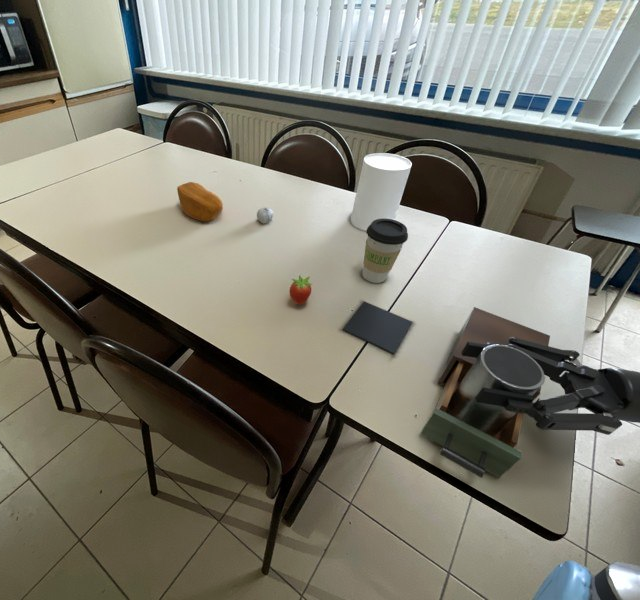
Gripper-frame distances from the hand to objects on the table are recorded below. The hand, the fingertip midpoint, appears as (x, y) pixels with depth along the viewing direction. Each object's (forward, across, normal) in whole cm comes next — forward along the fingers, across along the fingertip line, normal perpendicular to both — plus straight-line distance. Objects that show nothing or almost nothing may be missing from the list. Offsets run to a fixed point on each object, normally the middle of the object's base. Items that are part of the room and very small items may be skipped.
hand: (472, 370), depth 58 cm
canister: (+9, +72, -14) cm, 74 cm away
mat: (+10, +22, -14) cm, 28 cm away
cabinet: (-11, +13, -14) cm, 22 cm away
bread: (+66, +67, -14) cm, 95 cm away
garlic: (+43, +64, -14) cm, 79 cm away
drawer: (-4, -2, -13) cm, 14 cm away
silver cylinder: (-5, 0, -12) cm, 12 cm away
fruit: (+28, +26, -14) cm, 41 cm away
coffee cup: (+9, +42, -14) cm, 45 cm away
